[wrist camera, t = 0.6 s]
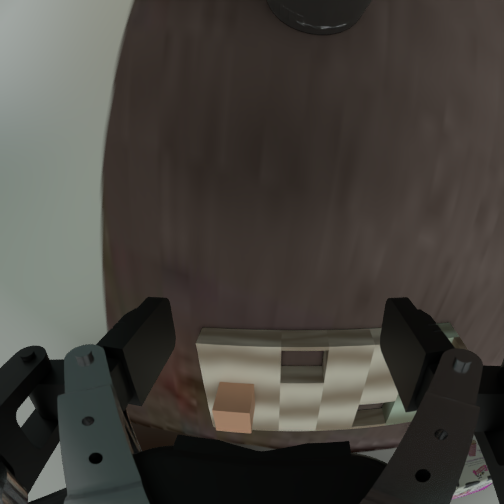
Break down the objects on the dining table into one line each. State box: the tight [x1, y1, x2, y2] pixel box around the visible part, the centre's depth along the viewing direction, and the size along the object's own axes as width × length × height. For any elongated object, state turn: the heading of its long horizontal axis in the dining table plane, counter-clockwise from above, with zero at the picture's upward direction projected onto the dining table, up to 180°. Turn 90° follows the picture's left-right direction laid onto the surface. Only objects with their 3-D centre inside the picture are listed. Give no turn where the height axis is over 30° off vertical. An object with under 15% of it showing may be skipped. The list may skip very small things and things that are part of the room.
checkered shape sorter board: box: [196, 323, 468, 431], centre depth 32 cm, size 16×30×6 cm, turn 92°
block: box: [212, 382, 255, 433], centre depth 31 cm, size 4×4×4 cm
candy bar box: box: [451, 435, 493, 500], centre depth 29 cm, size 11×5×16 cm, turn 77°
